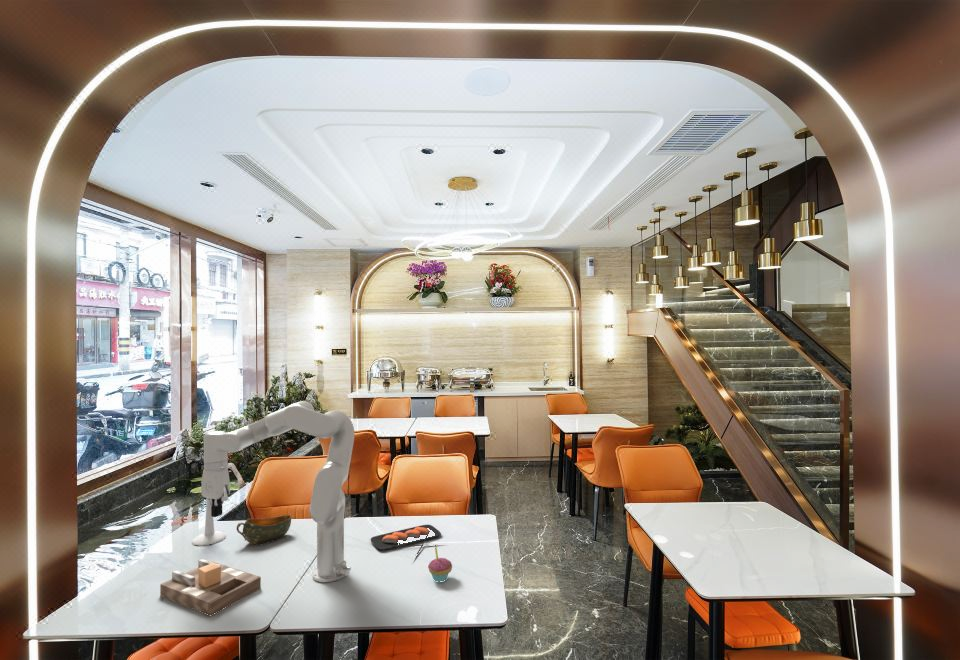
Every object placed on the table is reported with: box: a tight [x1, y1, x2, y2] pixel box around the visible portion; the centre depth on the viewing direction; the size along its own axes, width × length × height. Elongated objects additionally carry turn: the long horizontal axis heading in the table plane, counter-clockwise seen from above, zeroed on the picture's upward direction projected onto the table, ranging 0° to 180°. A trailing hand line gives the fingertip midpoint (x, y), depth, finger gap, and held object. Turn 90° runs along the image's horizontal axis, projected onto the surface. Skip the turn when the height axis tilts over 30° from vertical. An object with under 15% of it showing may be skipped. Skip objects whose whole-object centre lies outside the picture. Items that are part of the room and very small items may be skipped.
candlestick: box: [191, 498, 227, 547], centre depth 201 cm, size 13×13×30 cm
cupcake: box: [427, 544, 453, 582], centre depth 165 cm, size 9×8×12 cm
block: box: [198, 562, 221, 587], centre depth 157 cm, size 5×5×5 cm
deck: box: [159, 558, 262, 616], centre depth 158 cm, size 27×18×6 cm, turn 64°
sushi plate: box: [370, 524, 442, 555], centre depth 192 cm, size 29×30×4 cm
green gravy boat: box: [236, 514, 292, 546], centre depth 200 cm, size 13×20×10 cm, turn 100°
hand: (216, 515), depth 168 cm, fingers closed
